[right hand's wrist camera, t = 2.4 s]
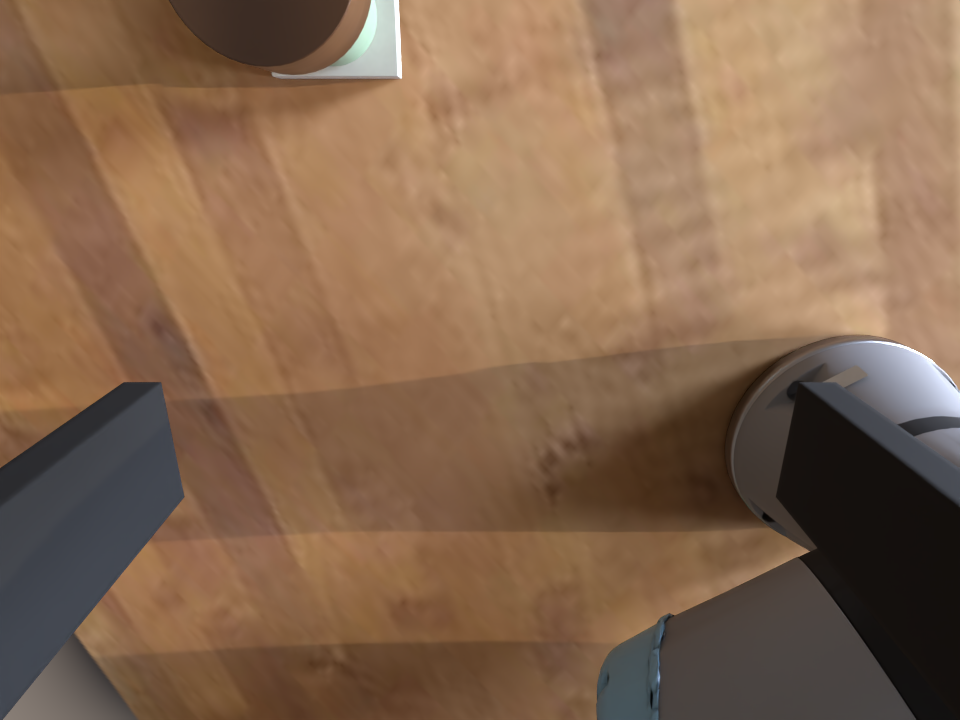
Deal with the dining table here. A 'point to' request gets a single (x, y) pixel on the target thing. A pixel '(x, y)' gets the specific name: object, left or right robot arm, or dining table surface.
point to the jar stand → (368, 49)
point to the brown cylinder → (277, 30)
